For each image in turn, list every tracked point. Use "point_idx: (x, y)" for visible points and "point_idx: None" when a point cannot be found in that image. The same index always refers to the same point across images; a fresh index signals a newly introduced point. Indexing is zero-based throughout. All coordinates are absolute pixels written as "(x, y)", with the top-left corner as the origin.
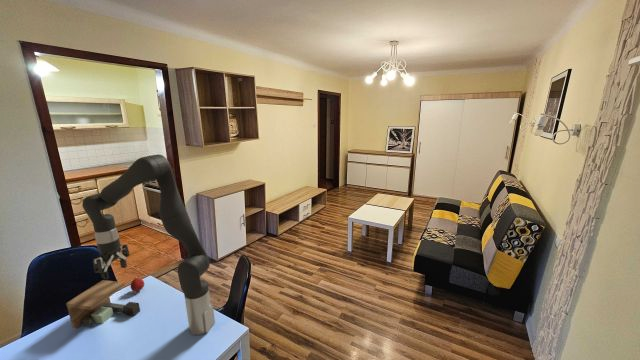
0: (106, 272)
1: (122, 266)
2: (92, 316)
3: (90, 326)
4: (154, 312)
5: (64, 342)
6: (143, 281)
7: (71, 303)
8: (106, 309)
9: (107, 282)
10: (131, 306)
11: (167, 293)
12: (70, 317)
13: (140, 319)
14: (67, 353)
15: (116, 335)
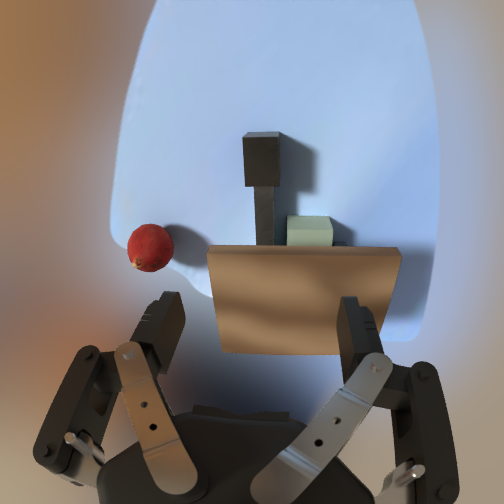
0: (364, 343)
1: (179, 317)
2: None
3: (345, 243)
4: (241, 70)
5: None
6: (131, 236)
7: None
8: (298, 241)
9: (230, 327)
10: (269, 150)
11: (136, 115)
12: None
13: (288, 94)
14: (435, 215)
15: (371, 122)
